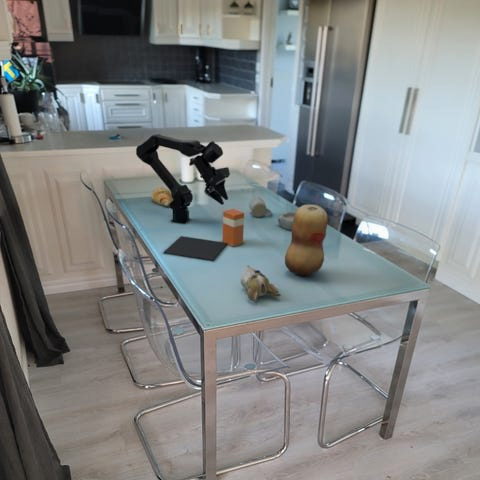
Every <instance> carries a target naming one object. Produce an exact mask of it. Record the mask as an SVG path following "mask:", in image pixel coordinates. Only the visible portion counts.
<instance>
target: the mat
mask: <svg viewBox="0 0 480 480" xmlns="http://www.w3.org/2000/svg"><path fill="white" fill-rule="evenodd" d="M227 245H228V244H227V243H224V242H222V241H217V240H210V239H203V238H196V237H190V236H183V235H182V236H179V237H178V238H177V239H176V240H175V241H174V242H173V243H172V244H170V246H169V247H168V248H166V249H165V250H164V251H163V254H166V255H171V256H172V255H173V256H179V257H184V258H189V259H196V260H204V261H210V262H213V261H215V260H216V258H217V257H218V256H219V255H220V253H221V252H222V251H223V250H224V248H225V247H227Z"/></svg>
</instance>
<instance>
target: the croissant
mask: <svg viewBox="0 0 480 480" xmlns="http://www.w3.org/2000/svg"><path fill="white" fill-rule="evenodd" d="M150 197H151V198H150V199H151V200H152V202H154V203H155V204H159V205H160V206H164V207H170V205H169V204H170V203H171V202H172V201H173V199H172V196H171V191H170V190H169V189H168V188H165V187H158V188H156V189H154V190H153V191H152V193H151V196H150Z"/></svg>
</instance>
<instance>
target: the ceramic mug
mask: <svg viewBox="0 0 480 480" xmlns="http://www.w3.org/2000/svg"><path fill="white" fill-rule="evenodd" d="M248 207H249V210H250V213H251V214H252V215H253V216H254V217H256V218H262V217H264V216H265V215H266V216H268V217H271V216H272V214H273V211H272V210H270V209H269V208H267V205H266V202H265V200H264V199H263V198H262V197H259V196H255V197H253V198H251V200H250V201H249V204H248Z"/></svg>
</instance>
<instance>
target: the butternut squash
mask: <svg viewBox="0 0 480 480" xmlns="http://www.w3.org/2000/svg"><path fill="white" fill-rule="evenodd" d="M294 212H295V215H294V219H293V223H292V230H291V240H290V243H289V246H288V247H287V250H286V252H285V255H284V264H285V267H286V268H287V270H289V272H290V273H293V274H295V275H299V276H301V277H308V276H310V275H313V274H315V273H317V272H319V270H321V268H322V267H323V264H324V262H325V251H324V246H323V245H324V244H323V243H324V240H325V239H326V235H327V228H328V221H329V220H328V219H329V218H328V213H327V212H326V210H325V209H324V208H323V207H321V206H320V205H317V204H304V205H303V204H302V205H301V206H299V207H298V208H297V210H296V211H294Z"/></svg>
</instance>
